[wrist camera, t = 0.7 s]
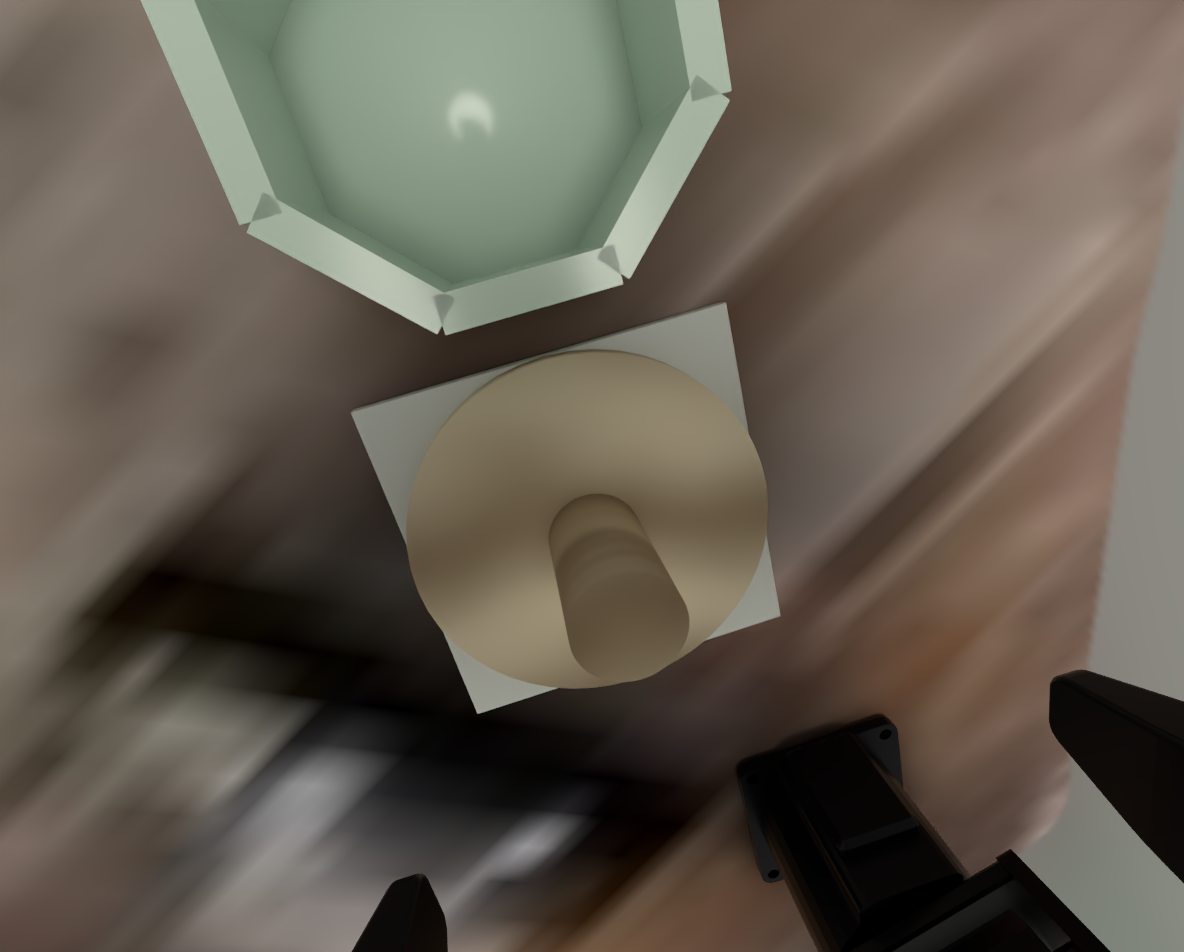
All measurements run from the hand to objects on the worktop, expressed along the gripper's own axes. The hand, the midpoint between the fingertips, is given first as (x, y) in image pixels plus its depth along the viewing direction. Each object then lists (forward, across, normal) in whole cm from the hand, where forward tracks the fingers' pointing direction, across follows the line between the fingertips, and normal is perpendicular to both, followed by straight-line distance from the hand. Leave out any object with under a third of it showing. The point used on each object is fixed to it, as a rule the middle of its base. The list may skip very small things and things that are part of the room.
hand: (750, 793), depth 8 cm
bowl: (+12, +1, -11) cm, 16 cm away
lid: (+12, +1, +1) cm, 12 cm away
